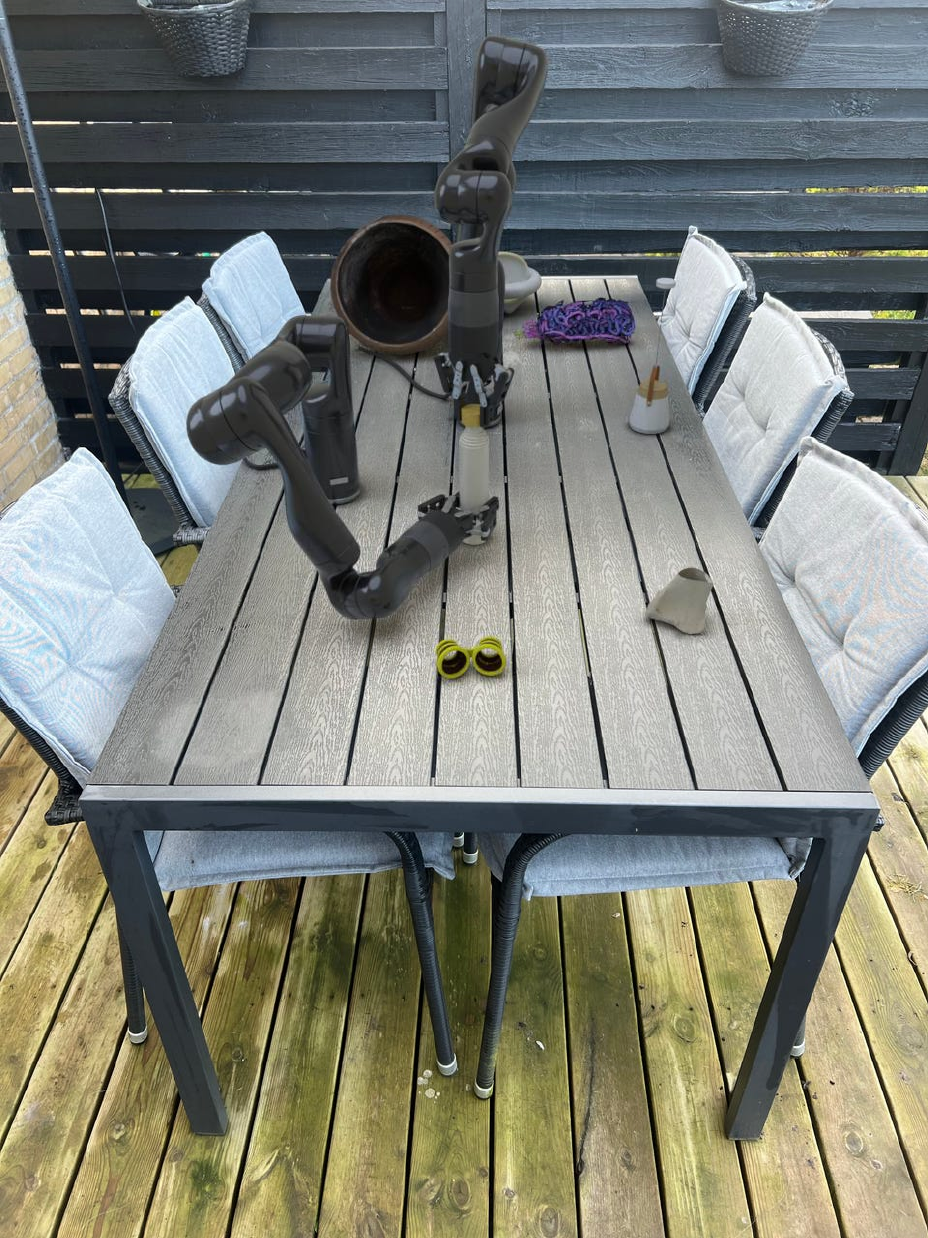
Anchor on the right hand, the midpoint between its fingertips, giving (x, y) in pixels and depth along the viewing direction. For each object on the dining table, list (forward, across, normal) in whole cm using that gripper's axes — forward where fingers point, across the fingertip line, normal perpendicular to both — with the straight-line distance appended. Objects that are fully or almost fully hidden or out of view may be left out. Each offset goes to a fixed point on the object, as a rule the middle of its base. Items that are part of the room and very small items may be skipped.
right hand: (473, 422), depth 148 cm
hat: (+22, +58, -99) cm, 117 cm away
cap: (-2, 0, 0) cm, 2 cm away
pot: (+22, +67, -68) cm, 98 cm away
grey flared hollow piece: (+22, -39, +3) cm, 45 cm away
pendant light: (+22, -6, -56) cm, 61 cm away
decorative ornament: (+22, +29, -88) cm, 95 cm away
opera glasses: (+22, -19, +29) cm, 41 cm away
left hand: (+15, 0, -3) cm, 15 cm away
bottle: (+22, 0, 0) cm, 22 cm away
